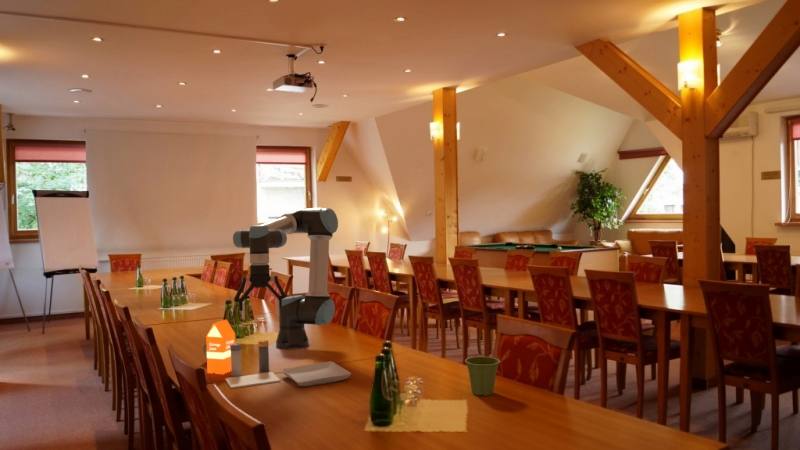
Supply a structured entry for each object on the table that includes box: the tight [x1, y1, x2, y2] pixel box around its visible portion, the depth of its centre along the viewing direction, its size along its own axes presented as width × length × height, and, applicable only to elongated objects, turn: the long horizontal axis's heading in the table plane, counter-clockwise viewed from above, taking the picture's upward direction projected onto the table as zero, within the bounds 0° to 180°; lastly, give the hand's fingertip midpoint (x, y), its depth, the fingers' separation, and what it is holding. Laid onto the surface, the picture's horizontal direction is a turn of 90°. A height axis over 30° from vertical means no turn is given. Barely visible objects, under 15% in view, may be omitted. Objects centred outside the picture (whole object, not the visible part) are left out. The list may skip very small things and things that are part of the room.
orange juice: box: [205, 319, 236, 375], centre depth 251 cm, size 8×9×20 cm
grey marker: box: [230, 343, 243, 377], centre depth 243 cm, size 4×4×12 cm
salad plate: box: [280, 361, 352, 387], centre depth 236 cm, size 21×21×3 cm
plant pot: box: [464, 355, 501, 397], centre depth 213 cm, size 12×12×11 cm
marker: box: [257, 339, 270, 373], centre depth 249 cm, size 4×4×12 cm
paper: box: [224, 371, 281, 390], centre depth 235 cm, size 18×13×1 cm
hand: (260, 317), depth 249 cm, fingers open, 13 cm apart
